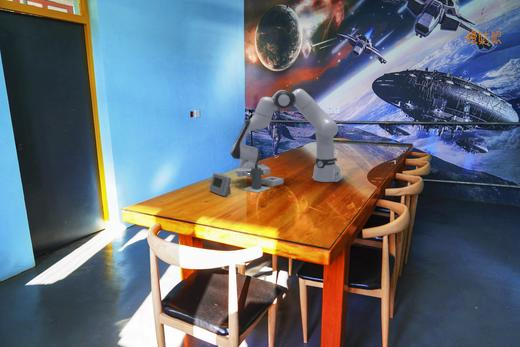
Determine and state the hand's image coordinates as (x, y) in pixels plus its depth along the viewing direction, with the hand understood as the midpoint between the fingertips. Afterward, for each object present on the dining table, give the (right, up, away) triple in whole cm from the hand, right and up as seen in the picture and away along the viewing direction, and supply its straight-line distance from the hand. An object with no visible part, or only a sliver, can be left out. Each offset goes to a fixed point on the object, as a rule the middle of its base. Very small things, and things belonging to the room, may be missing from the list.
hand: (256, 174), depth 205 cm
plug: (0, -8, +3) cm, 9 cm away
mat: (0, -9, +3) cm, 9 cm away
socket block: (+10, -6, +15) cm, 19 cm away
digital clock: (-21, -11, -5) cm, 24 cm away
